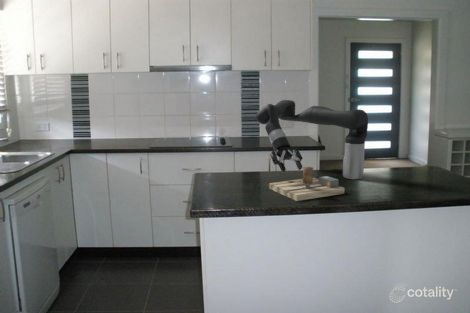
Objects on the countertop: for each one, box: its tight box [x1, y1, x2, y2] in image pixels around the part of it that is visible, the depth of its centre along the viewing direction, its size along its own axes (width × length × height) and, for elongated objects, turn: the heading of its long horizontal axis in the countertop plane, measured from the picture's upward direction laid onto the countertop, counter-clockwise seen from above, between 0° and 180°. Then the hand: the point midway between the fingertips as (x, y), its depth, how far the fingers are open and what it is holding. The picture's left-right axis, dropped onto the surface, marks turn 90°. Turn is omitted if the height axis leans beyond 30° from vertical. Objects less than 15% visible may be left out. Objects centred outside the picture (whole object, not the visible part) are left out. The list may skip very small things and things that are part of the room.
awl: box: [302, 166, 314, 189], centre depth 179 cm, size 4×4×11 cm
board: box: [268, 176, 345, 202], centre depth 184 cm, size 22×24×3 cm
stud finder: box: [318, 175, 340, 188], centre depth 184 cm, size 8×4×3 cm, turn 26°
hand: (292, 169), depth 189 cm, fingers open, 8 cm apart
